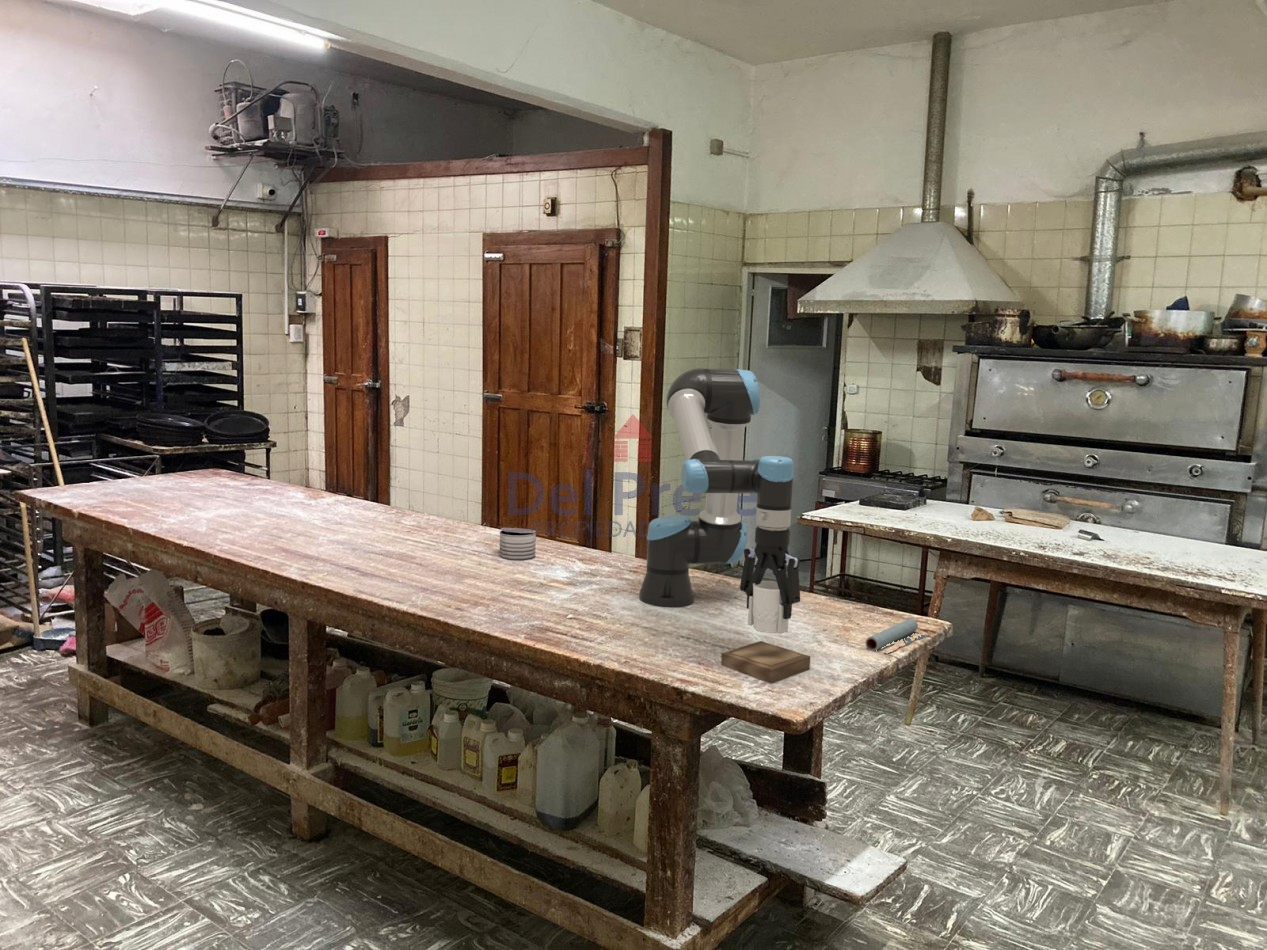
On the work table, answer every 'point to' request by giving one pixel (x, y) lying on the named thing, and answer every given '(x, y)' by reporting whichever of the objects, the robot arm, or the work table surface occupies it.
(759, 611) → the white cup
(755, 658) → the base
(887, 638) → the aluminum foil
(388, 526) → the work table surface
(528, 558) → the can
